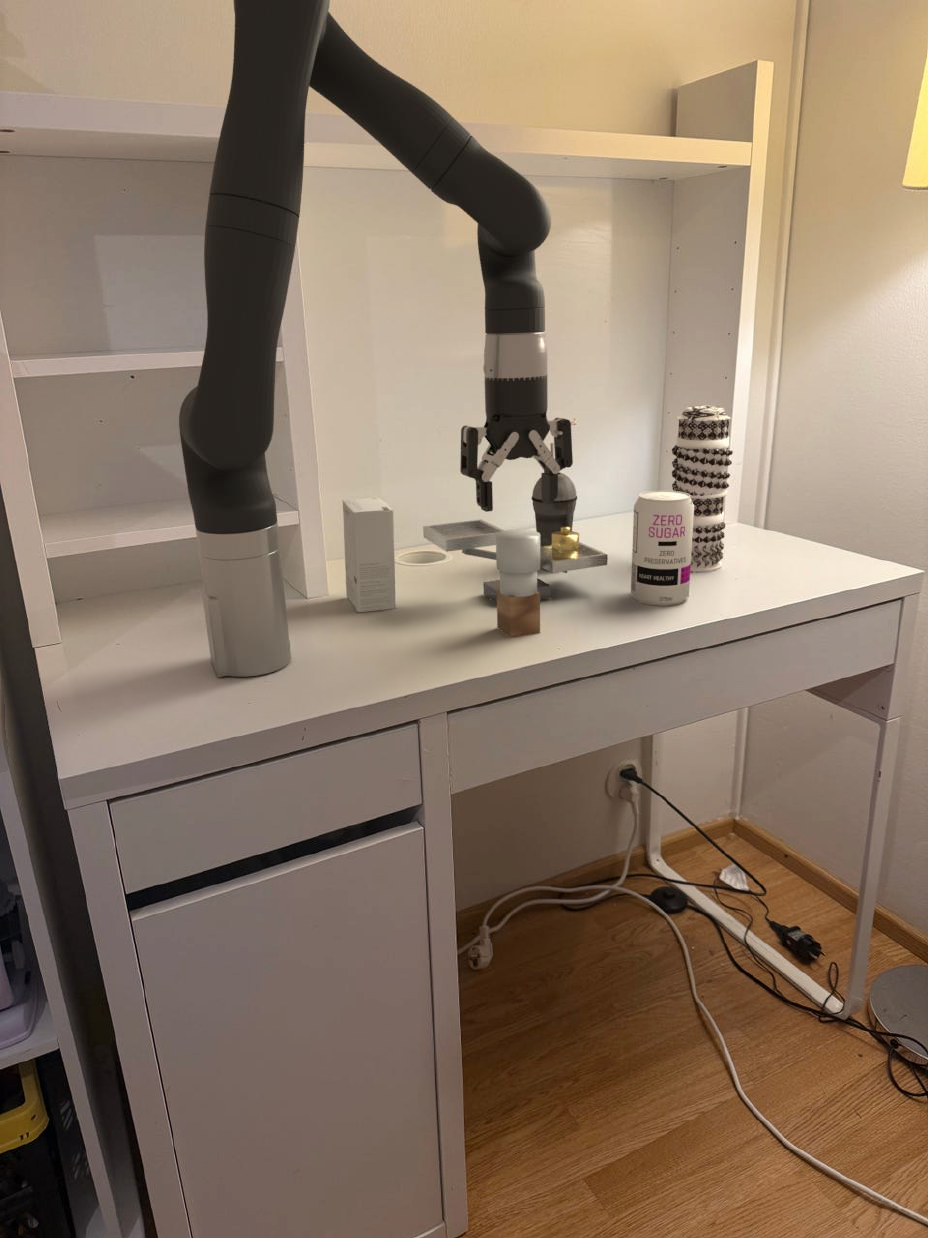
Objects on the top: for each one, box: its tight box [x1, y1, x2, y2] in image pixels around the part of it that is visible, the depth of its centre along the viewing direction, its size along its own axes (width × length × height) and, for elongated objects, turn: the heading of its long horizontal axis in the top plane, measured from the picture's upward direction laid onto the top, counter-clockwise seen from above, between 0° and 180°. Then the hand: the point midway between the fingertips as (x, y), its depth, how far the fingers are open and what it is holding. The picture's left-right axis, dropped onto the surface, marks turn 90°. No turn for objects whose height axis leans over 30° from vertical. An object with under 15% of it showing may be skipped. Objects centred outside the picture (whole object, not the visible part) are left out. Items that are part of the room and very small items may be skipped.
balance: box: [422, 518, 609, 605], centre depth 127 cm, size 25×9×11 cm, turn 112°
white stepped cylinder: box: [495, 529, 541, 597], centre depth 112 cm, size 6×6×8 cm
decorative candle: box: [671, 405, 734, 573], centre depth 138 cm, size 9×9×25 cm
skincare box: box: [342, 497, 397, 613], centre depth 126 cm, size 8×6×15 cm
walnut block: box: [496, 589, 541, 639], centre depth 115 cm, size 4×4×6 cm
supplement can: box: [630, 489, 694, 607], centre depth 124 cm, size 8×8×15 cm
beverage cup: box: [530, 442, 578, 573], centre depth 140 cm, size 7×7×20 cm
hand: (517, 506), depth 110 cm, fingers open, 8 cm apart
